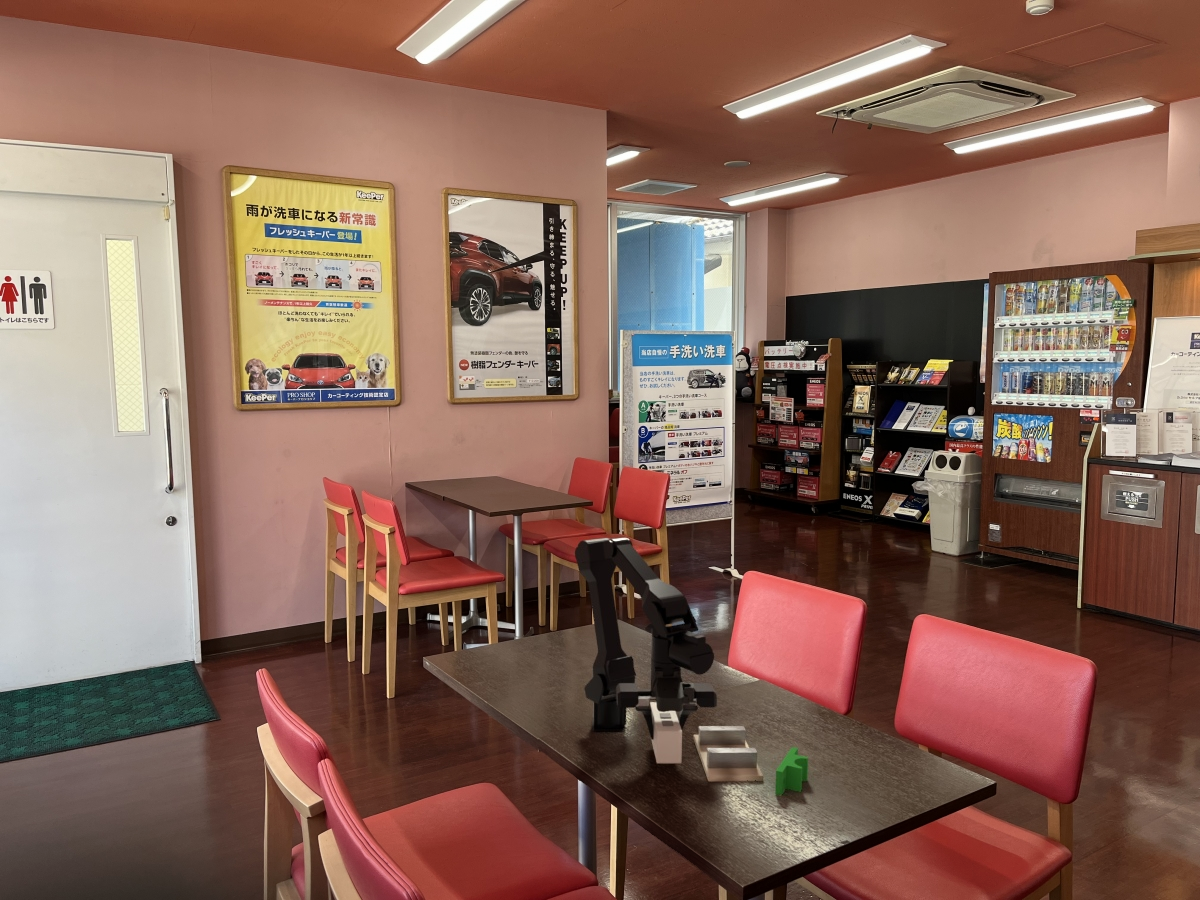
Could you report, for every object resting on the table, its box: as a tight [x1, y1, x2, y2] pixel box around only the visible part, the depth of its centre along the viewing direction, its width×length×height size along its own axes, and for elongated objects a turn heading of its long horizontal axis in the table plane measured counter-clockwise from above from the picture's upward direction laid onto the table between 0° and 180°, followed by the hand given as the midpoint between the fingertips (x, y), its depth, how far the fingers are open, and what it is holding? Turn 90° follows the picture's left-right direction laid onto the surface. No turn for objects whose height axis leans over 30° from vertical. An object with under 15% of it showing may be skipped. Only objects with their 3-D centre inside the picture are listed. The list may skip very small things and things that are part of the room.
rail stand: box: [693, 725, 764, 782], centre depth 161 cm, size 10×18×4 cm, turn 2°
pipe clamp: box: [774, 746, 809, 797], centre depth 152 cm, size 11×4×5 cm, turn 153°
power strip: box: [650, 701, 683, 764], centre depth 160 cm, size 4×14×6 cm, turn 2°
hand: (664, 738), depth 160 cm, fingers closed on power strip, 4 cm apart
